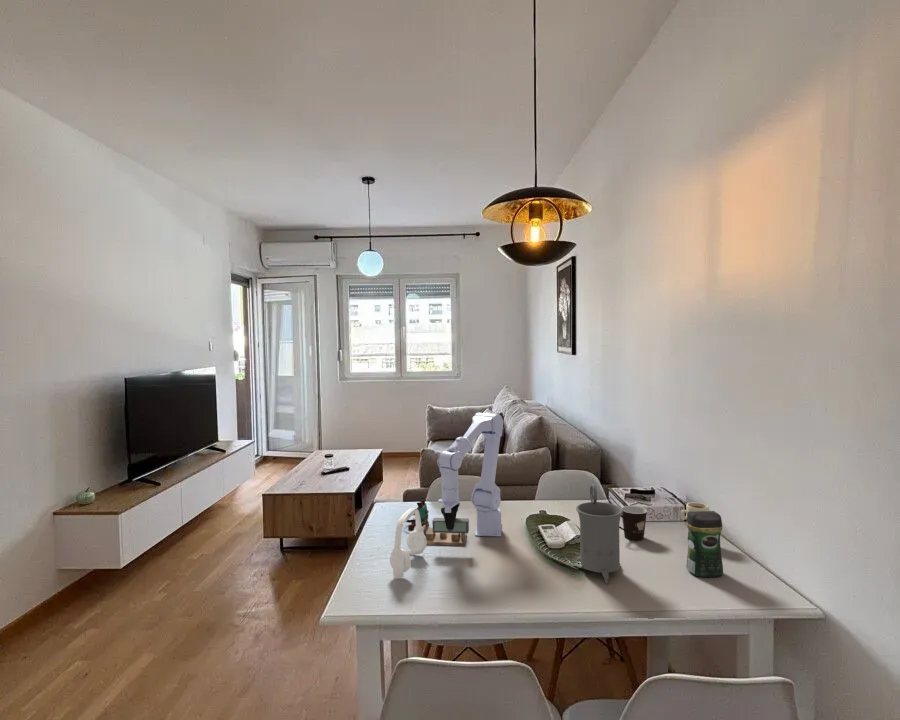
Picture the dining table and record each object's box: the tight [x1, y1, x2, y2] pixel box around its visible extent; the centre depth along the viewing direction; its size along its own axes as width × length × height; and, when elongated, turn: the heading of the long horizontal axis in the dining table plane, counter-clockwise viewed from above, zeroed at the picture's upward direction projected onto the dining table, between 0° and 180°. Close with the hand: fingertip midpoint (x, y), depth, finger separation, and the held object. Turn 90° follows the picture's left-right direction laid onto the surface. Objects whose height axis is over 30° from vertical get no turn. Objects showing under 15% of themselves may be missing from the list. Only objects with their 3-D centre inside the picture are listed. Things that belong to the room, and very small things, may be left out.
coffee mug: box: [619, 505, 648, 542], centre depth 187 cm, size 12×9×10 cm
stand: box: [423, 525, 468, 547], centre depth 189 cm, size 16×10×4 cm, turn 83°
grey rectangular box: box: [431, 517, 470, 534], centre depth 178 cm, size 12×3×4 cm, turn 83°
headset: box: [389, 507, 427, 580], centre depth 166 cm, size 20×7×18 cm, turn 164°
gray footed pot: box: [575, 483, 623, 585], centre depth 161 cm, size 19×15×25 cm
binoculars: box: [405, 497, 430, 530], centre depth 202 cm, size 9×11×10 cm
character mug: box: [680, 501, 710, 541], centre depth 182 cm, size 11×7×13 cm, turn 81°
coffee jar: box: [686, 510, 724, 578], centre depth 159 cm, size 10×8×19 cm
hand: (450, 527), depth 178 cm, fingers closed on grey rectangular box, 3 cm apart
